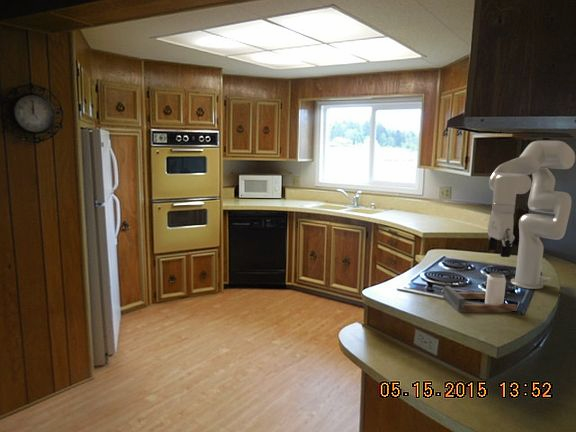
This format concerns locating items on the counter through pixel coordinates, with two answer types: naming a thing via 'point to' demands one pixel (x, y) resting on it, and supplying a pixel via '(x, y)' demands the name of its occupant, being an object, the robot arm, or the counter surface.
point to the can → (495, 288)
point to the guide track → (458, 303)
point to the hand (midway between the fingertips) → (498, 253)
